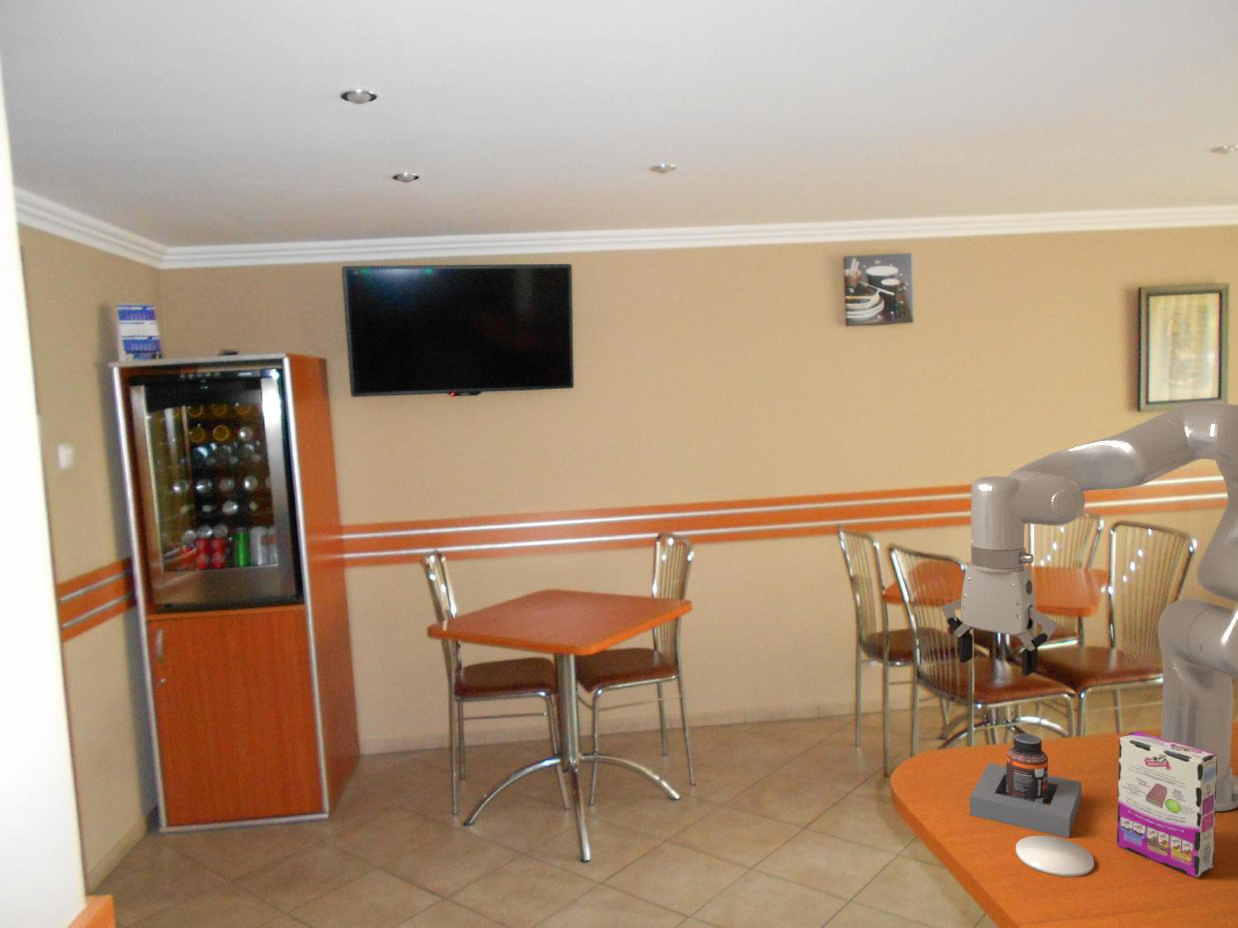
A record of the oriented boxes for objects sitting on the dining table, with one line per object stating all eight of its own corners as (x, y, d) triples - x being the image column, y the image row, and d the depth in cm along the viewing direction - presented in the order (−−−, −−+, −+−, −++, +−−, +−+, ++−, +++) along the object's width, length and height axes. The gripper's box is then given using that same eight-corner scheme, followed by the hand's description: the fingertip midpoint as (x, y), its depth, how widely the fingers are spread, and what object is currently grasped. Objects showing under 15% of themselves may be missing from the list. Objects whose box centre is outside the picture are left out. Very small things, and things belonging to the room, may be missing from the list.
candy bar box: (1215, 868, 127) (1220, 753, 125) (1197, 879, 124) (1202, 762, 122) (1132, 835, 136) (1136, 728, 134) (1114, 845, 133) (1117, 736, 131)
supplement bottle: (1051, 817, 142) (1053, 746, 141) (1010, 814, 143) (1011, 744, 142) (1041, 799, 148) (1043, 731, 146) (1002, 797, 149) (1003, 729, 148)
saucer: (1097, 850, 132) (1097, 846, 132) (1089, 884, 123) (1089, 879, 123) (1022, 833, 137) (1022, 829, 137) (1009, 863, 129) (1009, 859, 129)
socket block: (1081, 799, 147) (1081, 781, 147) (1068, 837, 136) (1069, 818, 135) (988, 780, 155) (988, 762, 155) (969, 814, 143) (969, 796, 143)
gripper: (1065, 560, 137) (1064, 672, 139) (953, 547, 149) (953, 650, 151) (1046, 569, 132) (1045, 685, 133) (932, 555, 144) (932, 661, 146)
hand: (996, 666), depth 142 cm, fingers open, 9 cm apart
